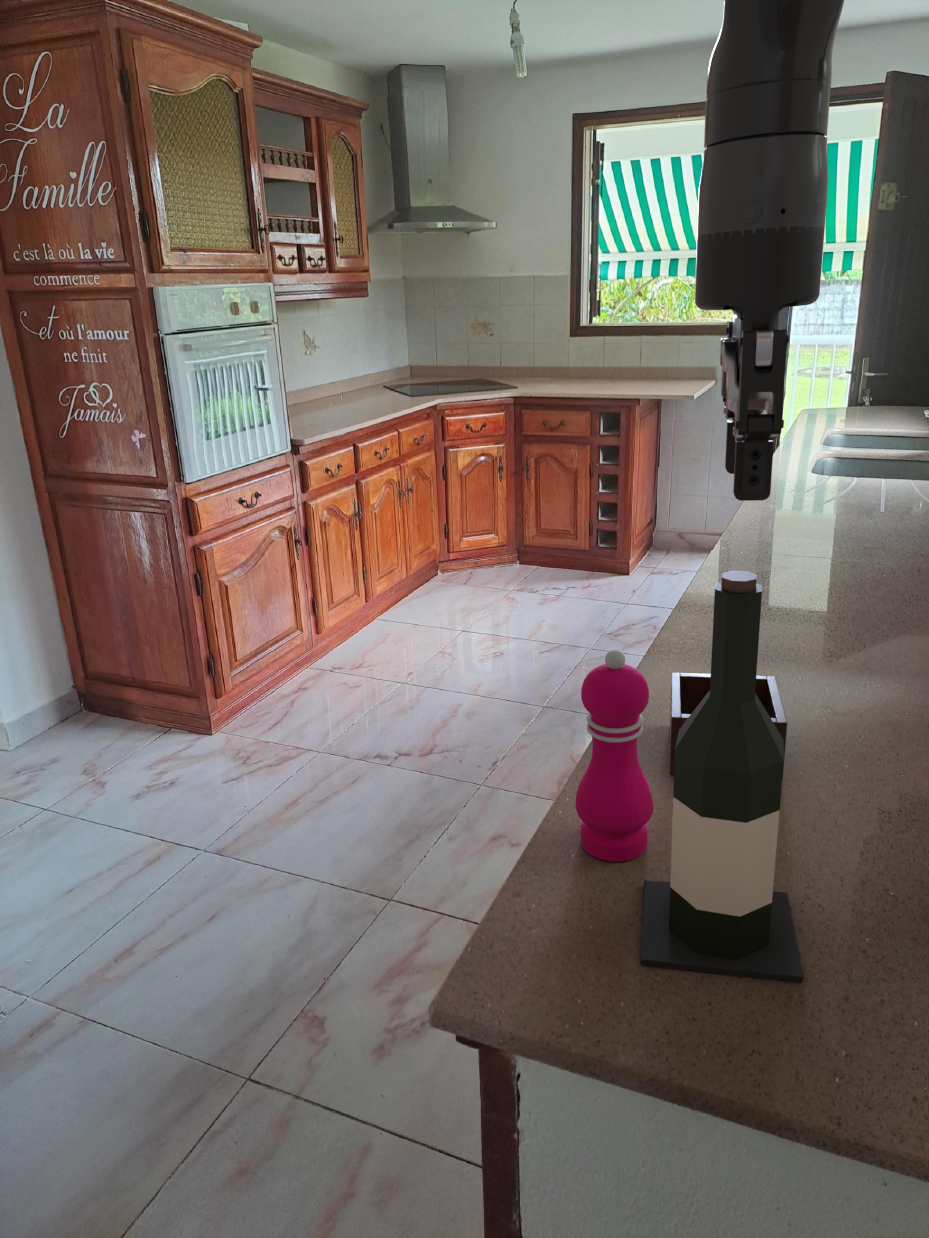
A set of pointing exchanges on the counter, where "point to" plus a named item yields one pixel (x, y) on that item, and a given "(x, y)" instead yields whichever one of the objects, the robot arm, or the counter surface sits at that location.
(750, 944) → the wine bottle
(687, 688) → the box
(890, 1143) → the counter surface
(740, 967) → the rubber mat
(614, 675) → the pepper mill
